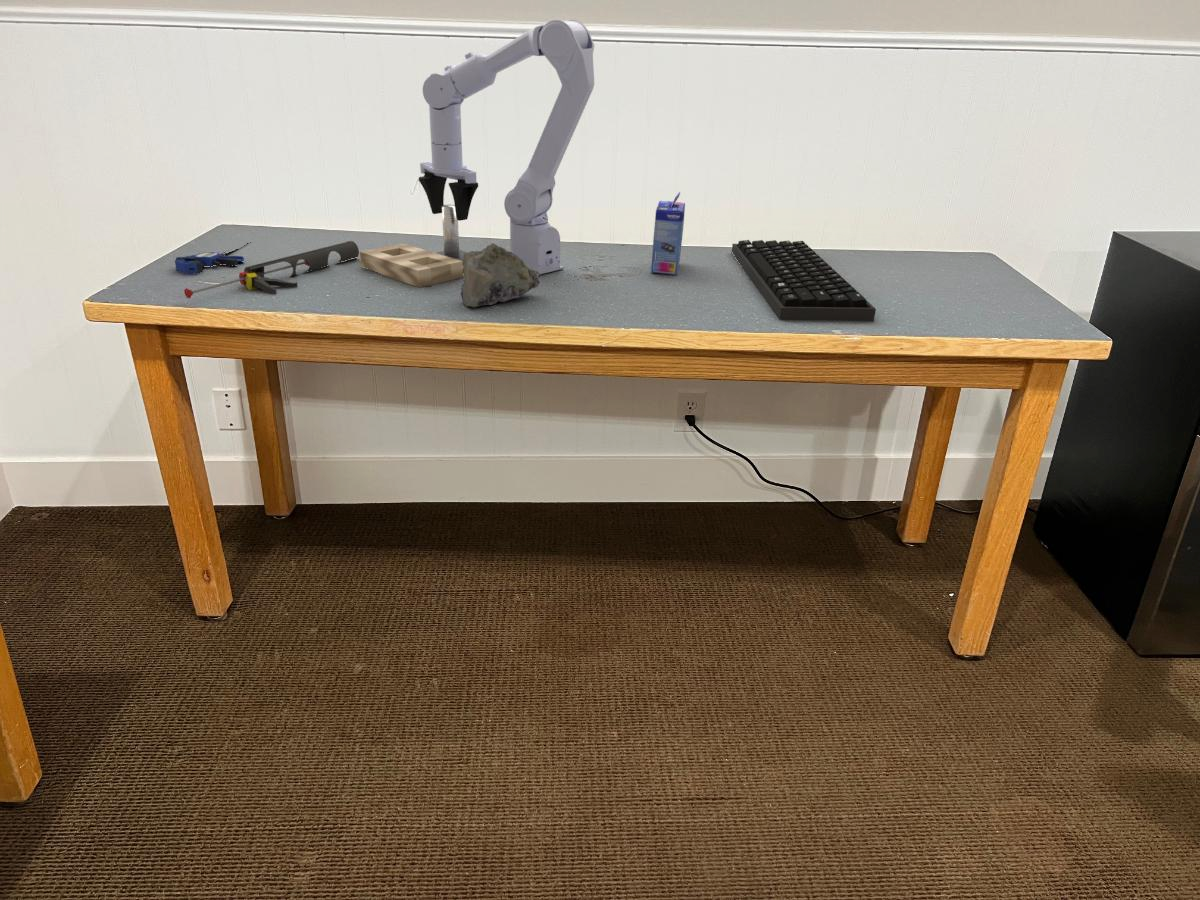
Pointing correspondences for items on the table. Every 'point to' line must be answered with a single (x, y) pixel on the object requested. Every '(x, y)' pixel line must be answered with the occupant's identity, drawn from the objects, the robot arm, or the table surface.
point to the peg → (450, 231)
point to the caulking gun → (313, 259)
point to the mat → (461, 254)
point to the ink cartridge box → (668, 237)
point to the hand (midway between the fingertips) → (449, 216)
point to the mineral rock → (495, 276)
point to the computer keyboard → (800, 282)
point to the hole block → (412, 264)
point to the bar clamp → (204, 261)
